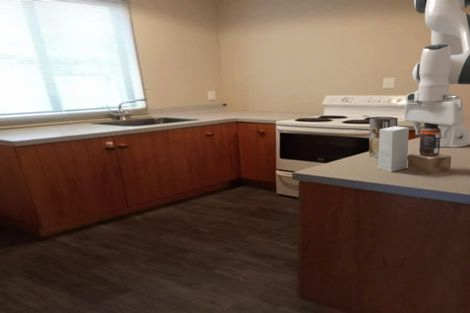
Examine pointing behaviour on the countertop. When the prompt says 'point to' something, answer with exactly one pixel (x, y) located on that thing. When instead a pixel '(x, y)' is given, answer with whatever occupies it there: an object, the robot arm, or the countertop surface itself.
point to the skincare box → (393, 148)
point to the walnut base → (429, 163)
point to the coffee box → (378, 132)
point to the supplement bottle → (430, 140)
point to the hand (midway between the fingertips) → (430, 136)
